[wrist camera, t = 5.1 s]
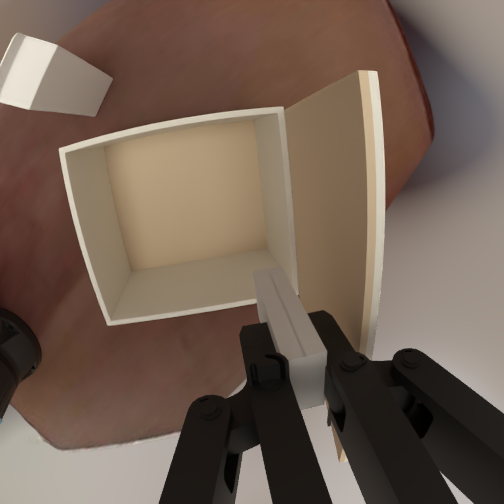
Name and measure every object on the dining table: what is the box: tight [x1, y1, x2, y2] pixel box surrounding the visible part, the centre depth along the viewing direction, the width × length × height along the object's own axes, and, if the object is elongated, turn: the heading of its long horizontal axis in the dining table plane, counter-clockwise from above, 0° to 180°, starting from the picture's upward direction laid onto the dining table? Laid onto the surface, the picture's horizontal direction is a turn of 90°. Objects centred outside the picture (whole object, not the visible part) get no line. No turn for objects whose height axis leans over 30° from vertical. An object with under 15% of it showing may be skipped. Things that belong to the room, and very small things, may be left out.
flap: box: [284, 70, 385, 462], centre depth 21 cm, size 21×19×1 cm
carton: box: [59, 107, 298, 326], centre depth 36 cm, size 22×20×14 cm
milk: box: [0, 33, 113, 117], centre depth 24 cm, size 6×6×22 cm
